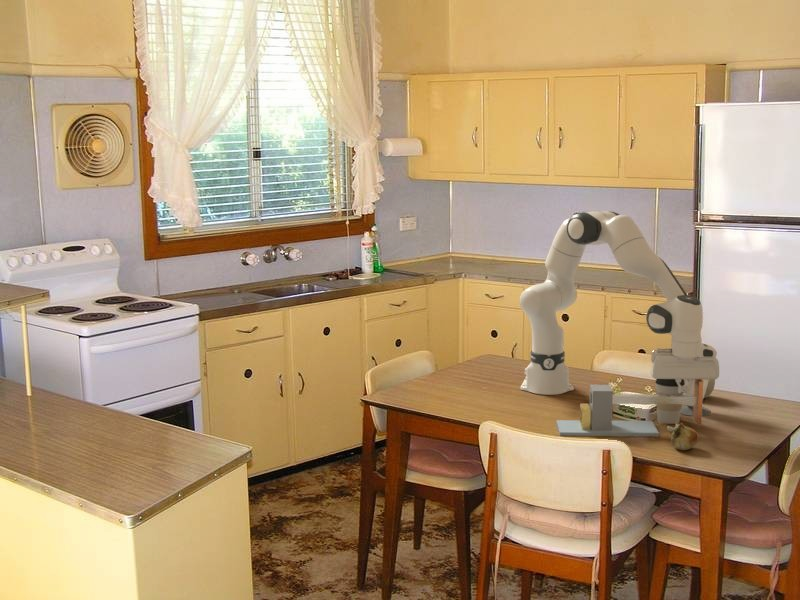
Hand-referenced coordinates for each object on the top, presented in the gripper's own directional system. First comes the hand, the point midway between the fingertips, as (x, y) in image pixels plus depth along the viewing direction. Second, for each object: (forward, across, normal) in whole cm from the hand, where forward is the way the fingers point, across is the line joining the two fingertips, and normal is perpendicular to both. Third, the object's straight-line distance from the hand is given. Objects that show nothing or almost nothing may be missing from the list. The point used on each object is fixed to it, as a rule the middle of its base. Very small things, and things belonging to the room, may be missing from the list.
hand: (683, 392), depth 302 cm
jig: (+12, -23, 0) cm, 26 cm away
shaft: (+9, -10, 0) cm, 13 cm away
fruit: (+12, +13, +35) cm, 39 cm away
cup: (+12, +8, +20) cm, 25 cm away
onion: (+12, -3, -17) cm, 21 cm away
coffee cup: (+12, -2, +10) cm, 16 cm away
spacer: (+11, -30, 0) cm, 32 cm away
